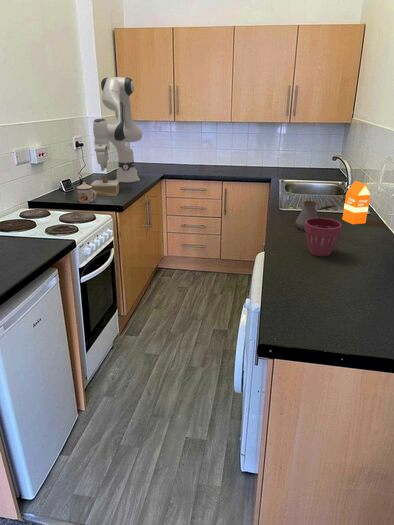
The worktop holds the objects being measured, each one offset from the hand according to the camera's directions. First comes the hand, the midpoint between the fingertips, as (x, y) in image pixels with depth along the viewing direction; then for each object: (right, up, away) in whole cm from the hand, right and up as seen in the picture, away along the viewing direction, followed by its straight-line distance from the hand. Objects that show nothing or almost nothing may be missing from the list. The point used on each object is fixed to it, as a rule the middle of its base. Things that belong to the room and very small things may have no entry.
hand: (104, 169), depth 246 cm
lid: (0, -8, +4) cm, 9 cm away
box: (0, -15, +7) cm, 16 cm away
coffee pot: (+114, -44, -60) cm, 137 cm away
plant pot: (+109, -55, -86) cm, 149 cm away
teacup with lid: (-7, -23, -11) cm, 26 cm away
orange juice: (+140, -38, -45) cm, 151 cm away
